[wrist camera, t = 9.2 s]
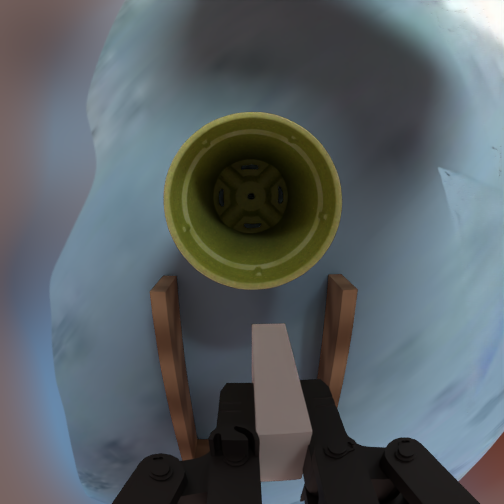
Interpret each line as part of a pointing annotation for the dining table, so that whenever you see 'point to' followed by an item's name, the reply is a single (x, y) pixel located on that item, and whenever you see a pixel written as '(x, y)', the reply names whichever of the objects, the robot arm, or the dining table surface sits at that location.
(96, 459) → the dining table surface
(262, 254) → the plant pot
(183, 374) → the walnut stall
